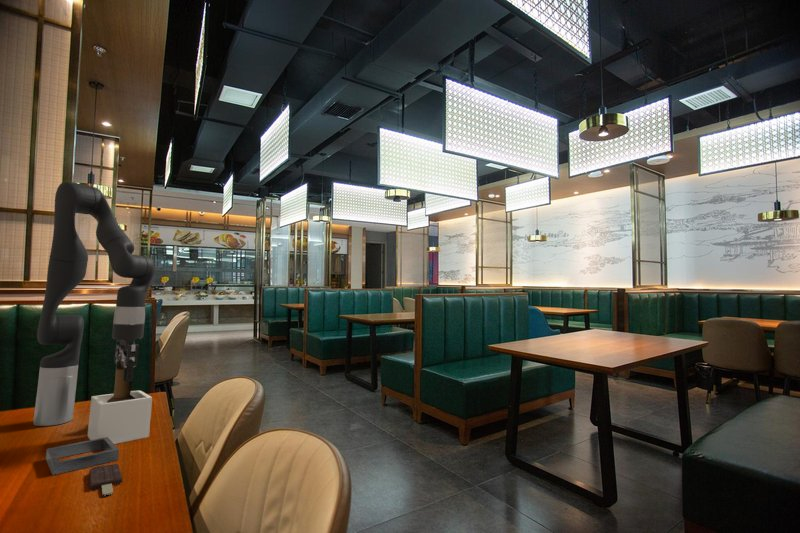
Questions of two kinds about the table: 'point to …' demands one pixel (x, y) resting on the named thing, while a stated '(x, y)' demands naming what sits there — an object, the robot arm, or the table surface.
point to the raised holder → (120, 418)
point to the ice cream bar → (105, 478)
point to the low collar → (82, 461)
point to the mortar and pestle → (121, 387)
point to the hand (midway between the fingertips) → (123, 378)
